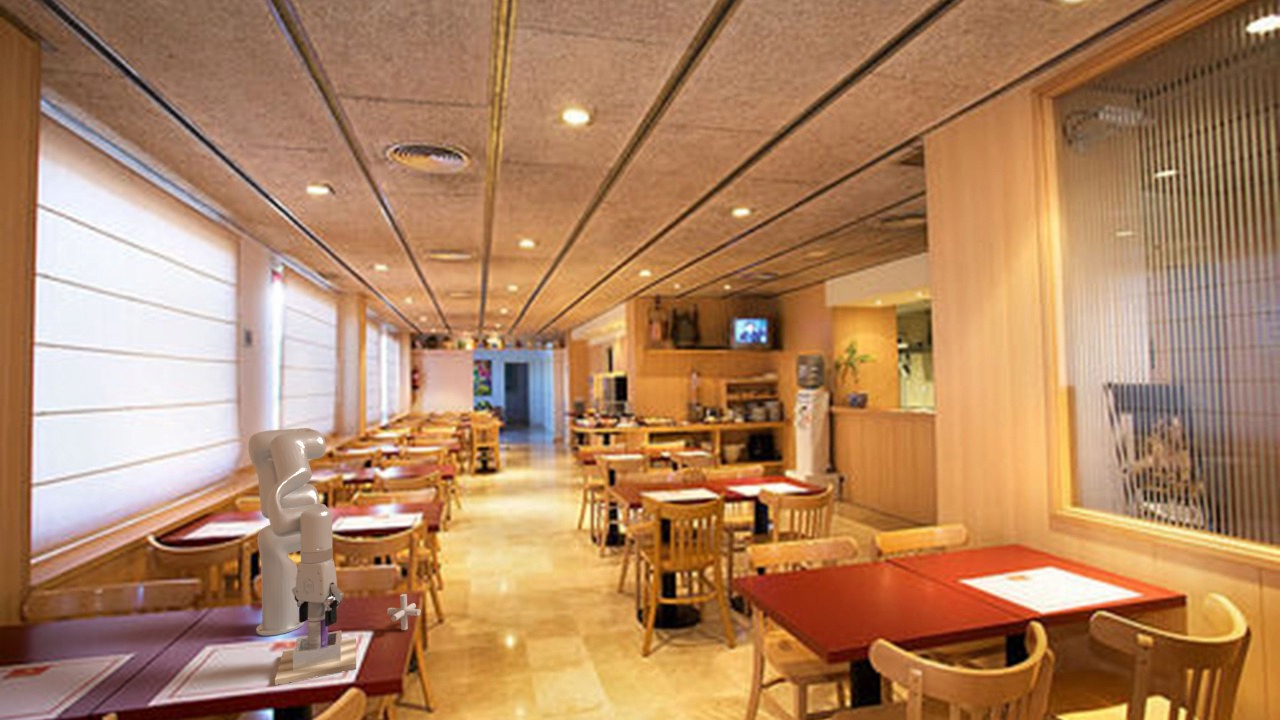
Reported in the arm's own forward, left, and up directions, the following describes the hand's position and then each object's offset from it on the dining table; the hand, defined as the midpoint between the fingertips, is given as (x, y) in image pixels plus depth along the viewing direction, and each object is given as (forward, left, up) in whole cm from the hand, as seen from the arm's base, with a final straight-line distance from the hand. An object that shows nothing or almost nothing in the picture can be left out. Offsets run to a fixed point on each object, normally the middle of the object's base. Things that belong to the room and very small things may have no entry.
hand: (317, 622), depth 163 cm
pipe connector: (-13, +22, -11) cm, 28 cm away
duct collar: (0, 0, -9) cm, 9 cm away
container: (0, 0, -9) cm, 9 cm away
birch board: (0, 0, -11) cm, 11 cm away
